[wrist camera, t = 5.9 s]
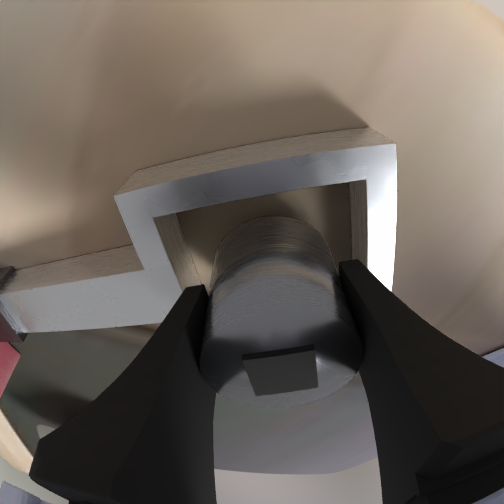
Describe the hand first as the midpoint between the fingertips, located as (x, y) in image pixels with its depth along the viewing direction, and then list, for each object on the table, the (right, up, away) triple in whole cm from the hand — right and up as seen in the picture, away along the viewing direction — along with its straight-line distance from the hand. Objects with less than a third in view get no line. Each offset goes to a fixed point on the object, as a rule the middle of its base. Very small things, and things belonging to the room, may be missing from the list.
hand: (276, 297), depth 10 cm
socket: (0, +1, +2) cm, 2 cm away
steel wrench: (-6, +1, +3) cm, 7 cm away
